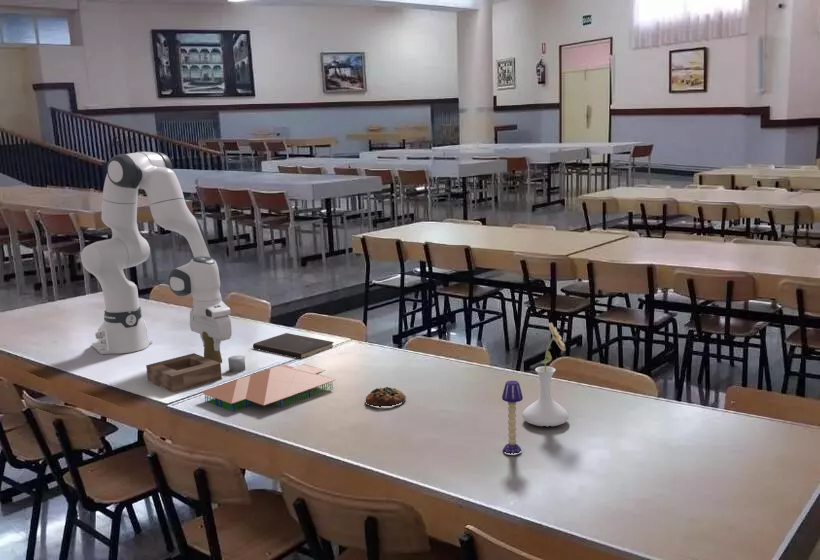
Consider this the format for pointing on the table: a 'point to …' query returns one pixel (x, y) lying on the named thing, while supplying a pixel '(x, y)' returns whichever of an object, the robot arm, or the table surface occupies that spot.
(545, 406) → the flower in vase
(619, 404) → the table surface
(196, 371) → the box
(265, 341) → the hardcover book
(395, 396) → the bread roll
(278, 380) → the house
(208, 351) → the cork
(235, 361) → the short stub
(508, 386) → the toy lamp
